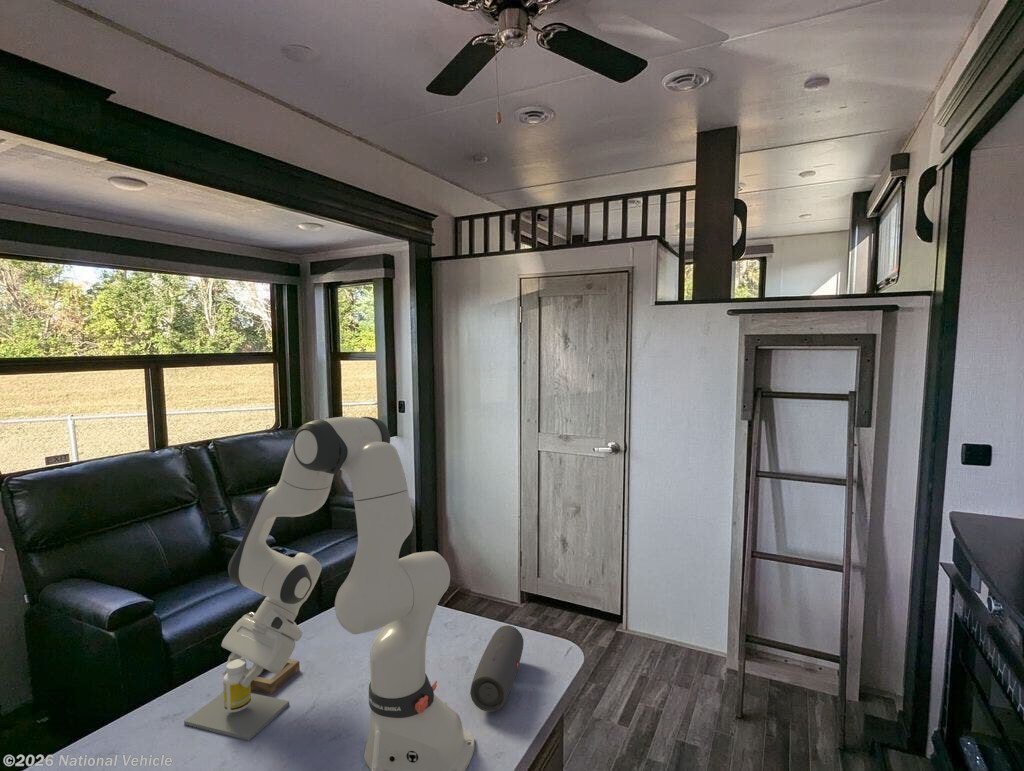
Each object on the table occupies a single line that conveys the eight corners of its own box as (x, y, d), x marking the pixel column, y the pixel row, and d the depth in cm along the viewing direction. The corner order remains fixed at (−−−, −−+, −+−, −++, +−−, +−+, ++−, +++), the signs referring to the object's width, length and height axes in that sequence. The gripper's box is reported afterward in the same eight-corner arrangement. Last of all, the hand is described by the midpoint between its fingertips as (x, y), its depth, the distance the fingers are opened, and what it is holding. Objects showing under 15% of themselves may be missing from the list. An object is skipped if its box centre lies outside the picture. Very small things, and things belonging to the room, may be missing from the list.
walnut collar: (299, 670, 133) (299, 660, 133) (271, 694, 124) (270, 683, 124) (268, 664, 136) (268, 654, 136) (238, 686, 127) (237, 677, 127)
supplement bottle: (256, 699, 119) (255, 658, 118) (238, 715, 113) (236, 672, 113) (237, 696, 120) (235, 655, 120) (218, 711, 115) (216, 668, 114)
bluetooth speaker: (508, 720, 114) (508, 676, 113) (468, 715, 116) (467, 672, 115) (526, 661, 136) (525, 624, 136) (492, 658, 138) (491, 621, 137)
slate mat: (289, 704, 120) (289, 701, 120) (249, 740, 108) (249, 737, 108) (228, 691, 125) (228, 688, 125) (184, 724, 114) (184, 721, 114)
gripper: (239, 605, 127) (199, 663, 119) (289, 626, 116) (250, 691, 109) (256, 614, 131) (219, 671, 123) (307, 636, 120) (270, 700, 113)
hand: (234, 681), depth 116 cm, fingers closed on supplement bottle, 5 cm apart
